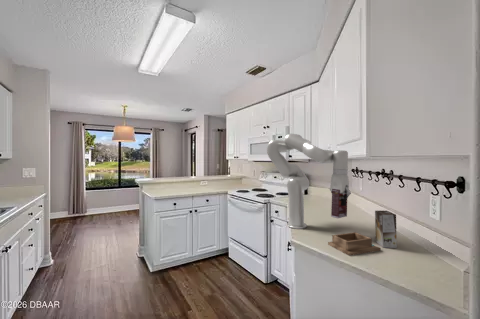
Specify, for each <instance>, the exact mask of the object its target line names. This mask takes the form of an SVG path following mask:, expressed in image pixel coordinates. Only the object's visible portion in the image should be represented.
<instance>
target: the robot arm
mask: <svg viewBox="0 0 480 319" xmlns="http://www.w3.org/2000/svg"><path fill="white" fill-rule="evenodd" d="M266 146H267V147H266V153H267V156H268V158H269V160H270V161H271V163H273V165H274V167H275V168H276V170H277V171H278V173H279V174H280V175H281V177H282V178H284V179H288V180H287V182H286V187H287V188H286V189H287V193H288V217H287V220H288V222H287V223H286V227H288V228H290V229H297V230H298V229H299V230H300V229H305V228H307V227H308V226H307V223H305V201H304V200H305V199H304V198H305V197H304V193H303V191H306V190H307V189H309V187H310V180H309V179H308V176H306V174H305V173H304V171H303V170H302V169H301V167H300V166H299V165H297V164H295V163H290V162H289V161H288V160H287V158H286V157H285V156H284V155H283V154H282V153H287V152H289V151H293V150H296V151H297V152H300V153H302V154H303V155H304V156H306V157H307V158H309V159H312V160H313V161H315V162H317V163H320V164H331V163H332V175H331V177H330V178H331V179H330V187H329V191H330V193H331V194H332V189H339V190H340V193H341V196H342V198H341V206H346V205H347V206H348V198H349V196H350V195H351V194H352V192H351V191H350V181H349V175H348V169H349V168H348V166H349V165H348V164H349V163H348V162H349V152H348V150H331V149H322V148H320V147H319V146H316V145H314V144H313V143H312V142H311V140H308V139H306V138H304V137H303V136H302V135H300V134H297V133H288V134H287V135H285V137H284V139H283V140H281V139H272V140H271V141H269V142H268V144H267V145H266ZM344 194H345V195H344Z"/></svg>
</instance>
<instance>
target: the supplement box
mask: <svg viewBox="0 0 480 319" xmlns="http://www.w3.org/2000/svg"><path fill="white" fill-rule="evenodd" d="M344 195H345V194H344ZM341 198H342V196H341V193H340V190H339V189H332V193H331V208H330V209H331V214H330V217H332V218H334V219H335V218H336V219H343V218H346V217H348V204H347V205H346V206H341Z"/></svg>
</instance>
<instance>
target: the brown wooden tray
mask: <svg viewBox="0 0 480 319" xmlns="http://www.w3.org/2000/svg"><path fill="white" fill-rule="evenodd" d="M331 236H332V237H331V238H332V240H331V241H327V245H328V246H330V247H332V248H334V249H335V250H338V251H339V252H342V253H343V254H345V255H347V256H349V257H350V256H356V255H362V254H367V253H374V252H379V251H381V247H380V246H377V245H375V244H373V243H372V242H373V239H372V238H371V237H368V236H366V235H363V234H361V233H358V232H356V231H355V232H347V233H339V234H332V235H331Z"/></svg>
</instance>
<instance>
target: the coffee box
mask: <svg viewBox="0 0 480 319" xmlns="http://www.w3.org/2000/svg"><path fill="white" fill-rule="evenodd" d="M374 222H375V223H374V224H375V225H374V227H375V228H374V229H375V242H376V243H377V244H378V245H379V246H381V247H382V248H391V249H397V247H398V246H397V242H398V241H397V214H396V213H393V212H391V211H389V210H374Z"/></svg>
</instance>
